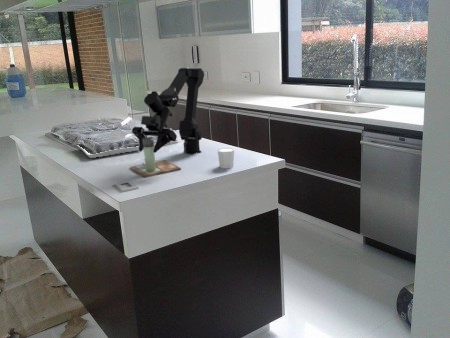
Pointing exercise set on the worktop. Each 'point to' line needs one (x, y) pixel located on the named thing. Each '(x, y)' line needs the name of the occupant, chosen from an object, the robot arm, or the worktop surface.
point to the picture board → (160, 168)
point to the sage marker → (149, 154)
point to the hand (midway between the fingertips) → (146, 151)
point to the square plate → (110, 151)
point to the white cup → (226, 157)
